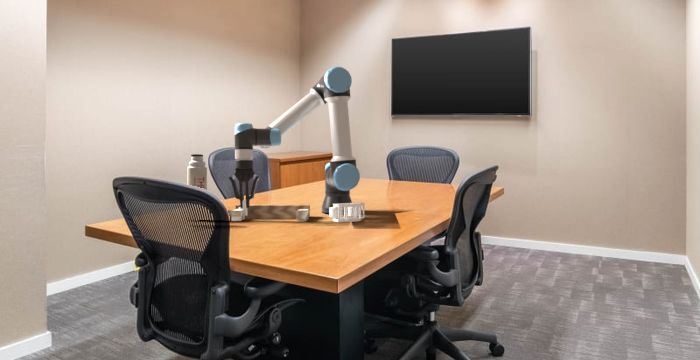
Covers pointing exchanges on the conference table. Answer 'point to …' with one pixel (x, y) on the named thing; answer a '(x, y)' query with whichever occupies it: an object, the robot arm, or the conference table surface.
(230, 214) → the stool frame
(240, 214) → the folding leg
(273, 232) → the conference table surface
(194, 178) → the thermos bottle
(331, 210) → the car outline toy
